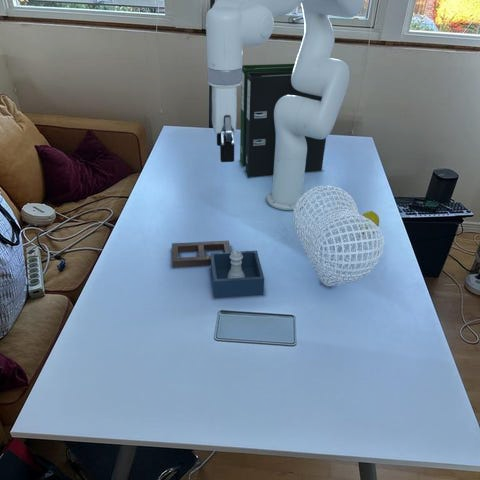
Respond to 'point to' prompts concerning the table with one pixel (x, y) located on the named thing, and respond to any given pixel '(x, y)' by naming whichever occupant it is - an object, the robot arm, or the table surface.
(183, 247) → the stand
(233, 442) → the table surface
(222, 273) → the blue open box
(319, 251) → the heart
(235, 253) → the rook chess piece
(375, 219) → the lemon
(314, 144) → the binder
